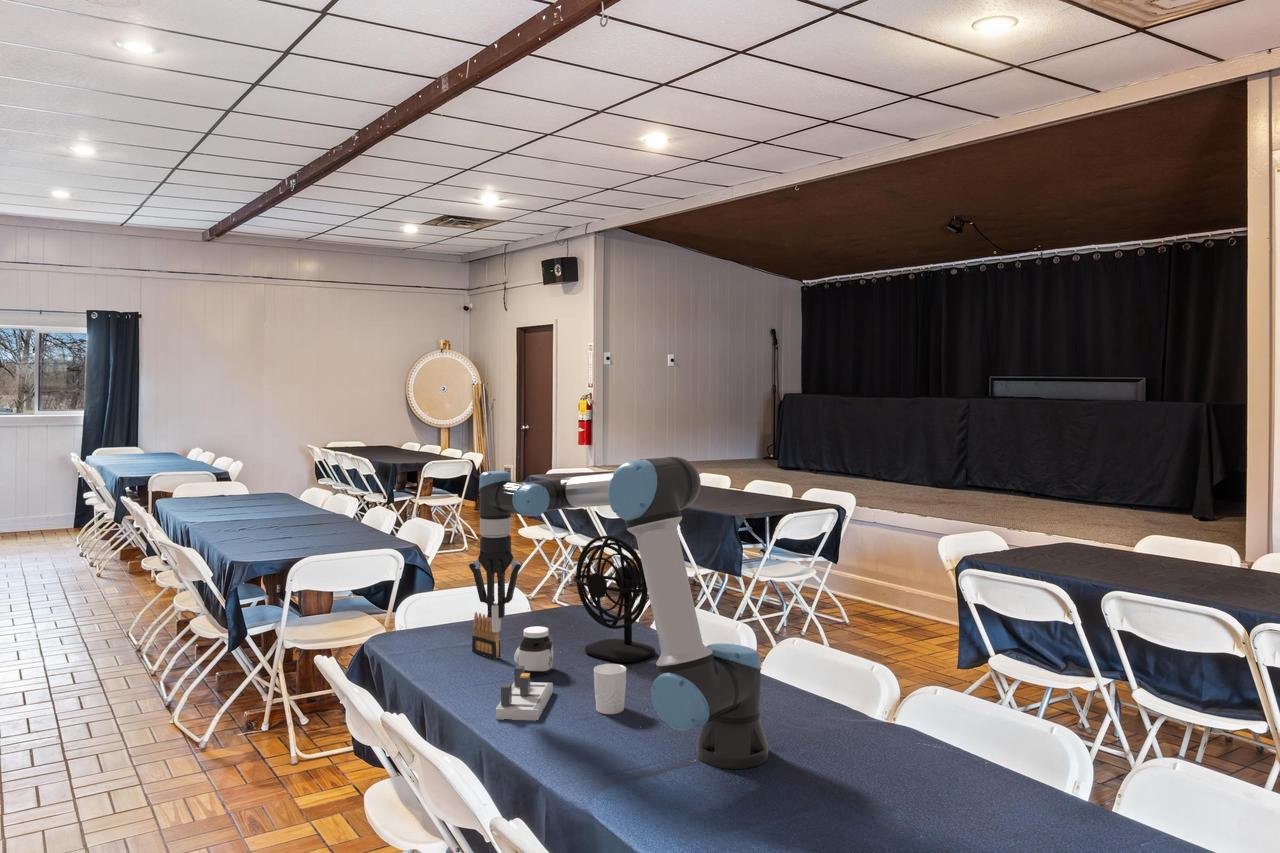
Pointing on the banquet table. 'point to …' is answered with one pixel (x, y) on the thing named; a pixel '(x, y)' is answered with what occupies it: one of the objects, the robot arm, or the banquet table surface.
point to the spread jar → (535, 651)
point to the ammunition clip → (485, 637)
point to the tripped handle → (525, 684)
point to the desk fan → (597, 587)
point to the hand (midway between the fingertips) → (496, 630)
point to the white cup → (610, 688)
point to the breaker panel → (526, 702)
